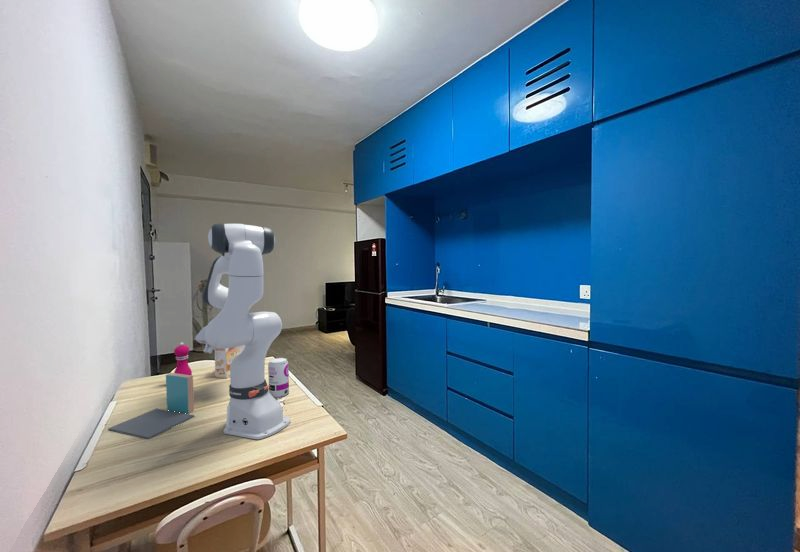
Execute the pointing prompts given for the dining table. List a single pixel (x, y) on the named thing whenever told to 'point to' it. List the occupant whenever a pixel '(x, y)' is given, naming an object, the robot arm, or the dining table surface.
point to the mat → (151, 423)
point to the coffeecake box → (225, 360)
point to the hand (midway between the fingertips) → (206, 352)
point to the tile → (180, 393)
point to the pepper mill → (182, 360)
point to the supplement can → (278, 377)
